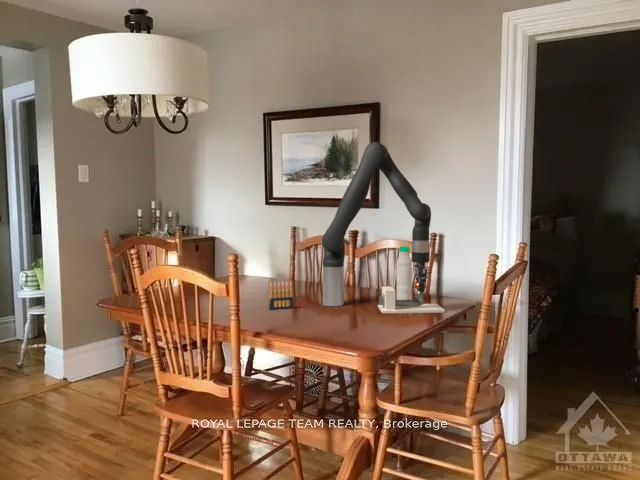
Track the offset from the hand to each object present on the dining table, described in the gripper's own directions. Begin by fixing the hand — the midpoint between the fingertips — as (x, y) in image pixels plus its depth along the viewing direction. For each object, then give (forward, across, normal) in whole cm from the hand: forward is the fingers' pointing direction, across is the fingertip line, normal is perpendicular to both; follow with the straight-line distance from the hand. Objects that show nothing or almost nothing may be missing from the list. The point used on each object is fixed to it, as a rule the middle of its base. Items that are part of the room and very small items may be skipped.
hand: (420, 290), depth 242 cm
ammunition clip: (+8, -5, -59) cm, 60 cm away
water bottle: (+8, -20, -3) cm, 22 cm away
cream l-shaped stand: (+8, 0, -4) cm, 9 cm away
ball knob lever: (+7, 0, -7) cm, 10 cm away
